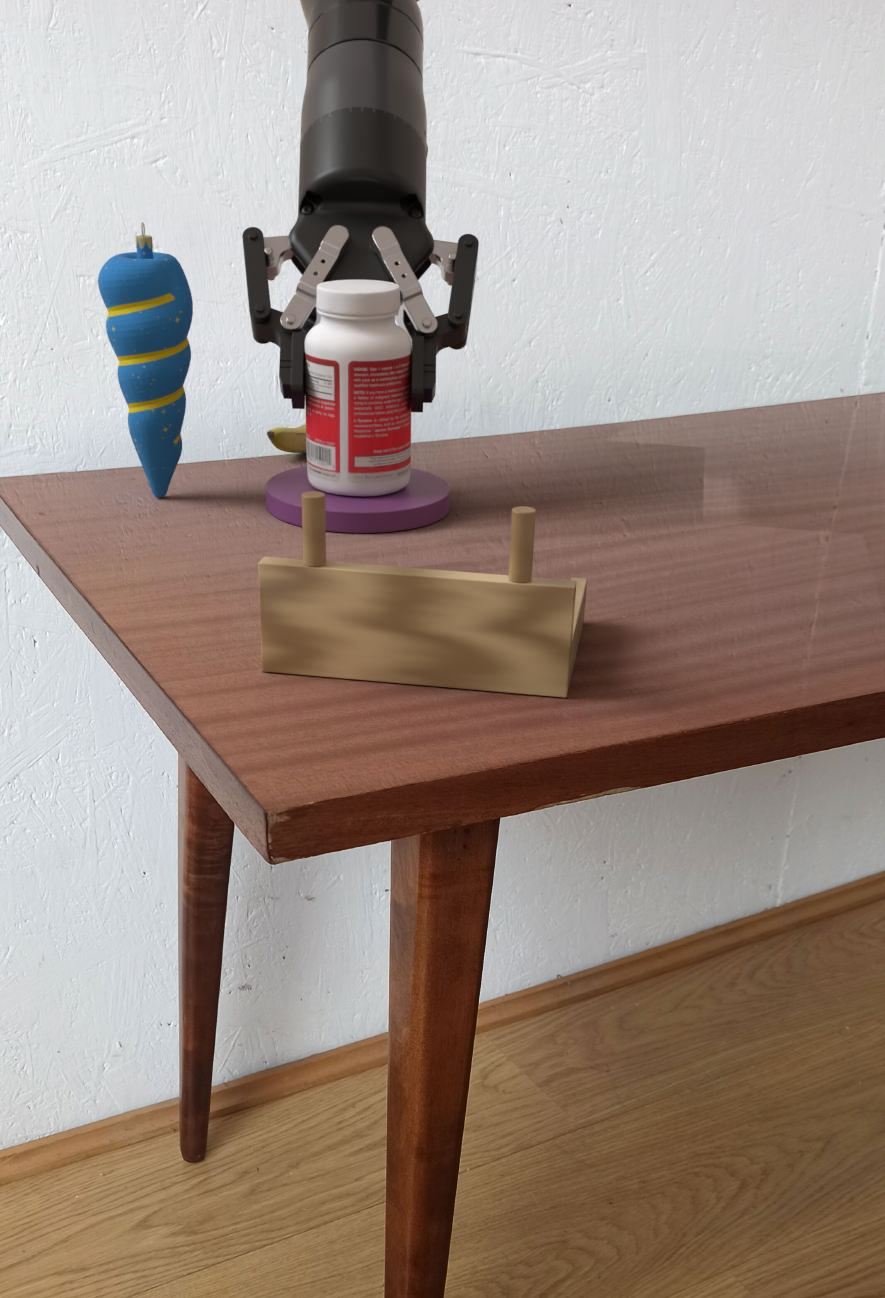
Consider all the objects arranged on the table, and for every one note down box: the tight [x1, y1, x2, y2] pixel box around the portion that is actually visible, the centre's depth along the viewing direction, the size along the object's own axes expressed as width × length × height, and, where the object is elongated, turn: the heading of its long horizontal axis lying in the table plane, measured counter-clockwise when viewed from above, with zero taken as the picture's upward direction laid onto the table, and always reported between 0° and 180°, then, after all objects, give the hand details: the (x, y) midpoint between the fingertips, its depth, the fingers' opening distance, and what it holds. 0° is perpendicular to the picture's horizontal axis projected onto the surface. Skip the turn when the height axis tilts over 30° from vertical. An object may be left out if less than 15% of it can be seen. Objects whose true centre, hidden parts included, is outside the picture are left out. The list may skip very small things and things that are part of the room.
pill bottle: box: [304, 280, 412, 497], centre depth 88 cm, size 6×6×11 cm
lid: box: [265, 465, 451, 534], centre depth 91 cm, size 11×11×1 cm
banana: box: [266, 423, 307, 454], centre depth 101 cm, size 8×2×4 cm, turn 153°
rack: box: [257, 491, 588, 699], centre depth 70 cm, size 14×10×8 cm
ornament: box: [97, 222, 194, 499], centre depth 88 cm, size 5×5×15 cm
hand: (357, 402), depth 87 cm, fingers closed on pill bottle, 6 cm apart
